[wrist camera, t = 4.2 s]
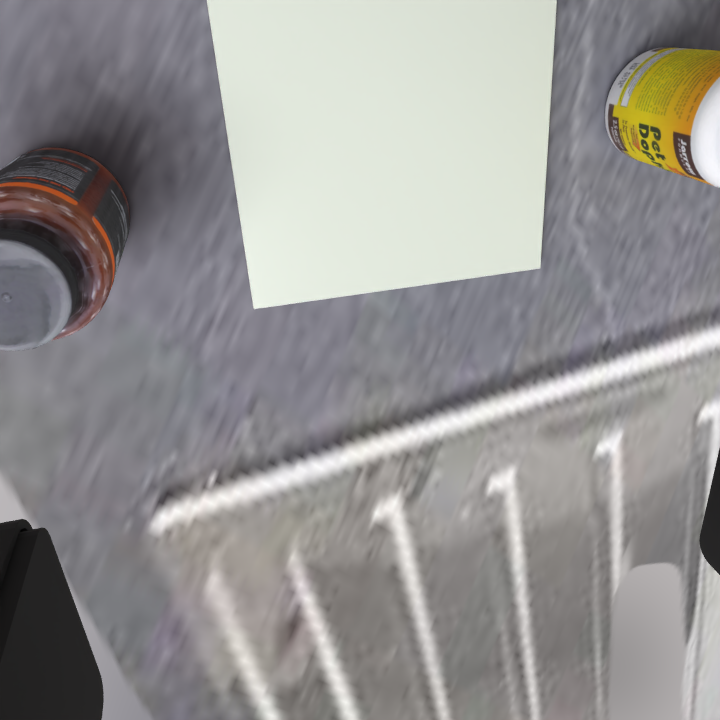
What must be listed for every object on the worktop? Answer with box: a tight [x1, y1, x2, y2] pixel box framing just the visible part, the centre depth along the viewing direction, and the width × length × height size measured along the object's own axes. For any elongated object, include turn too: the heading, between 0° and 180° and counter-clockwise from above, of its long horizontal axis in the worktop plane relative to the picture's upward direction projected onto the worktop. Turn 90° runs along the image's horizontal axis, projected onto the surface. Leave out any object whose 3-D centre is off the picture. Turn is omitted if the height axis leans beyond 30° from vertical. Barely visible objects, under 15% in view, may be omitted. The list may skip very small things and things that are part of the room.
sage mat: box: [207, 0, 557, 309], centre depth 33 cm, size 16×16×1 cm
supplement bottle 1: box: [0, 148, 130, 351], centre depth 27 cm, size 6×6×11 cm
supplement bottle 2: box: [605, 47, 720, 188], centre depth 31 cm, size 6×6×10 cm
